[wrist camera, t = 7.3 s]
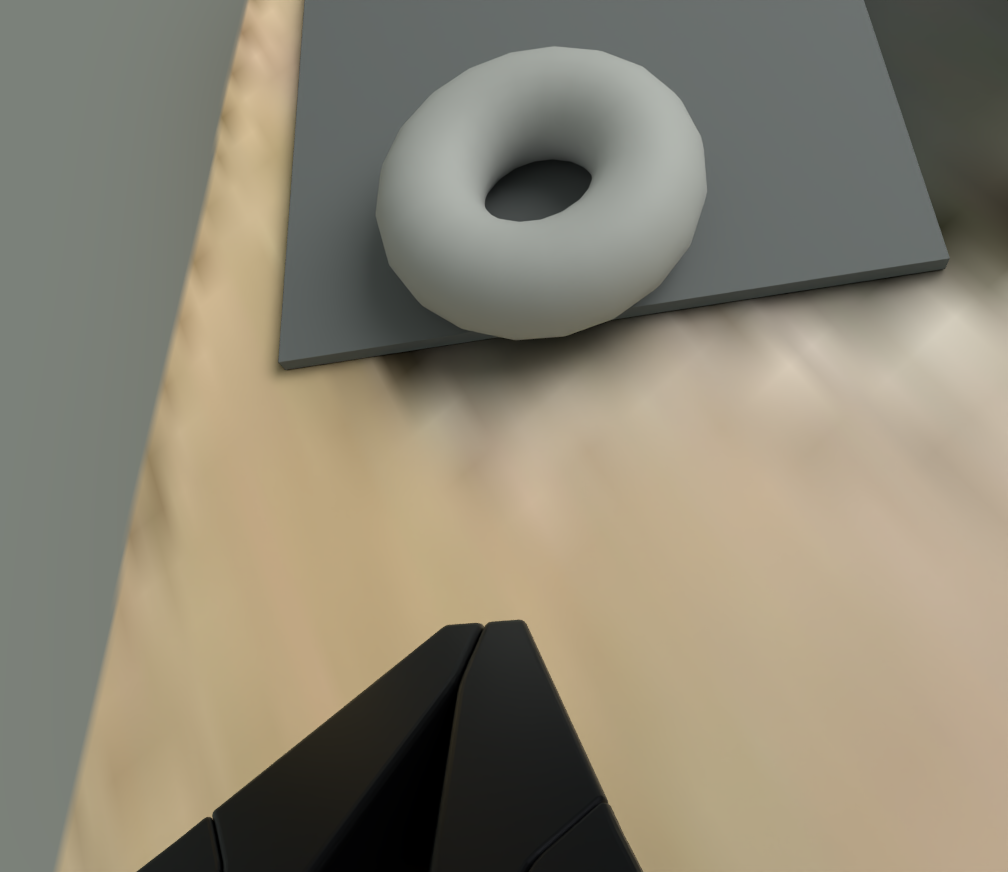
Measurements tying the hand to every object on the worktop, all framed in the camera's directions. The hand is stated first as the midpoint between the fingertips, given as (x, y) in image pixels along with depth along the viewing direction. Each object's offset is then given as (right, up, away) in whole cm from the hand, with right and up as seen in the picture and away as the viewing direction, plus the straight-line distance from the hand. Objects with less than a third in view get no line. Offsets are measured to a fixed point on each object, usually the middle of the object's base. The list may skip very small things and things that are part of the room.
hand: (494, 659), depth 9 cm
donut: (+2, +5, +15) cm, 16 cm away
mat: (+2, +15, +21) cm, 26 cm away
